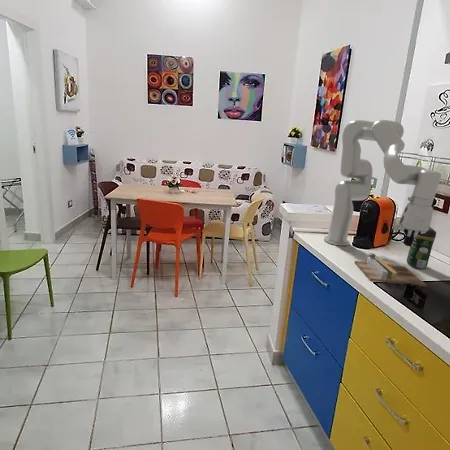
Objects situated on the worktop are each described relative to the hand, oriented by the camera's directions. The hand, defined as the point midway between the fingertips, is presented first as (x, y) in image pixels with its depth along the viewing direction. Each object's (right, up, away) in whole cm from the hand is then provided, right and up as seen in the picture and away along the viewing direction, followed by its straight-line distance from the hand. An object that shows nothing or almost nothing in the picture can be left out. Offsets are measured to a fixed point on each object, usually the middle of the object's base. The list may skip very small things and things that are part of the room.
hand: (407, 244), depth 143 cm
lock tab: (-8, -11, +2) cm, 13 cm away
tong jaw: (-10, -11, -1) cm, 15 cm away
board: (-7, -12, +2) cm, 14 cm away
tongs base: (-12, -11, +1) cm, 16 cm away
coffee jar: (+12, -10, +16) cm, 23 cm away
